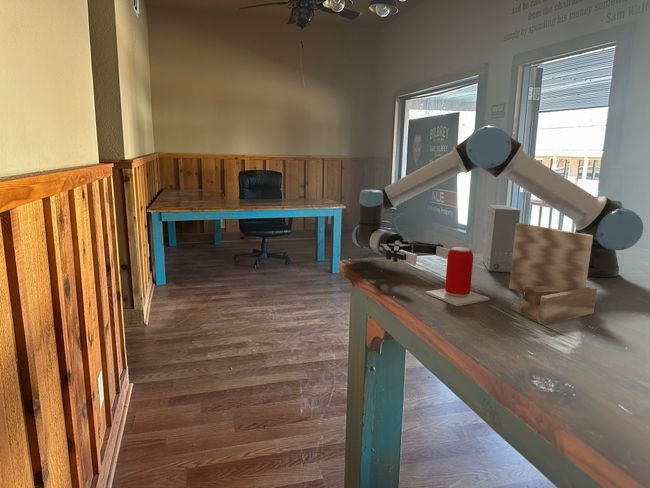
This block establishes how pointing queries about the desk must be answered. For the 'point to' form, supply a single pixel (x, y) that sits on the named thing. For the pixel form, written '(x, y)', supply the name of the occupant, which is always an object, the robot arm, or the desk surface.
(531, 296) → the offcut upper
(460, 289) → the beverage can
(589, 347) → the desk surface
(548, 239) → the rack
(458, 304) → the felt pad
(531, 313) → the offcut lower
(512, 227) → the hard drive box
